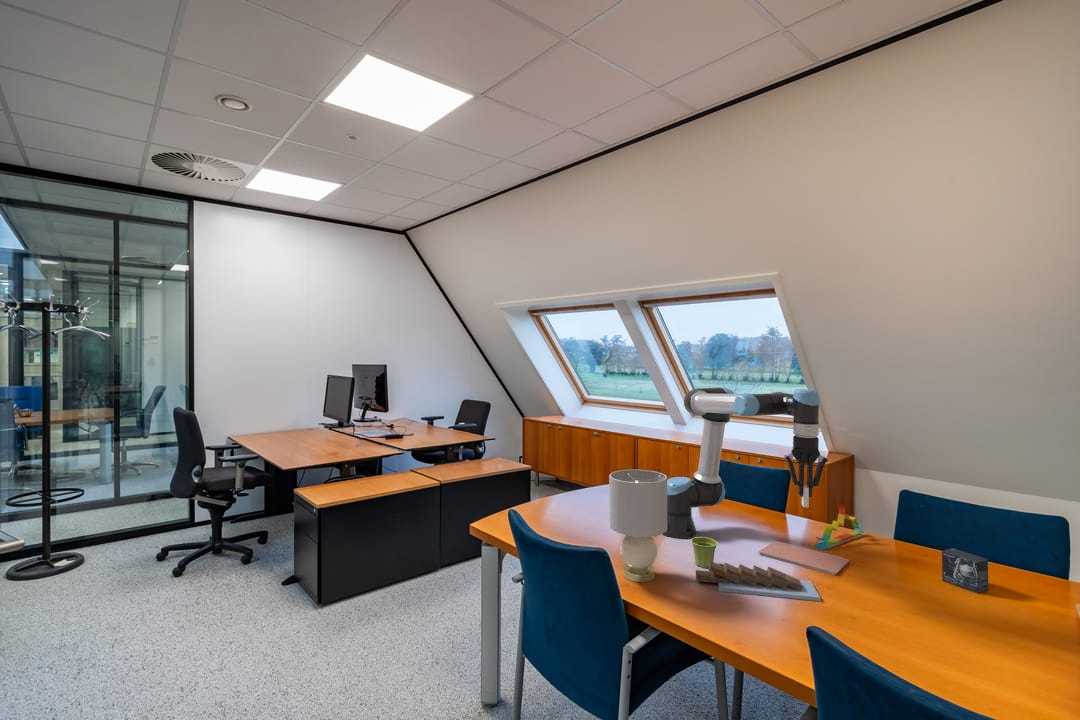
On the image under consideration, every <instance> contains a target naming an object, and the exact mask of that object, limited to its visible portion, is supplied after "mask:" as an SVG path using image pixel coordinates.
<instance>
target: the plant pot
mask: <svg viewBox="0 0 1080 720" xmlns="http://www.w3.org/2000/svg"><path fill="white" fill-rule="evenodd" d="M690 542H691V545H692V547H693V554H694V562H695V563H694V564H695V565H696V566H698V567H700V568H705V569H706V568H707V569H709V567H708V564H709V561H712V562H714V558H715V552H716V549H717V546H718V541H717V540H715V539H713V538H711V537H705V536H696V537H695V536H694V537H691V540H690Z"/></svg>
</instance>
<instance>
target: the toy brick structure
mask: <svg viewBox="0 0 1080 720" xmlns="http://www.w3.org/2000/svg"><path fill="white" fill-rule="evenodd" d="M845 520H849V521H850V522H851V525H852V528H854V530H852V531H851V530H850V531H848V532H847V533H843V534H840V535H838V536H835V537H834V536H833V537H832V538H831V536H832V533H833V531H835V532H837V530H838V528H839V527H843V528H844V526H845V525H844V524H845ZM855 528H856V529H855ZM861 528H863V525H860V524H859V522H858V519H857V517H855V516H850V514H849V510H848V506H847V505H844V504H841V503H840V504H839V509H838V515H837V521H836V520H832V523H831V525H829V526H828V525H826V526H825V529H824V532H823V535H822V537H819V536H815V538H816V539H818V540H819V541H820V542H818V543H815V549H817V550H819V551H820V550H821V551H824V550H828V549H831V548H833V547H836V546H839V545H841V544H844V543H847V542H851V541H852V540H856V539H858V538H861V537H863V536H864V535H865V534H864V531H862V530H860V529H861ZM853 531H856V532H853ZM857 532H859V533H857ZM861 533H863V534H861Z"/></svg>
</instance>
